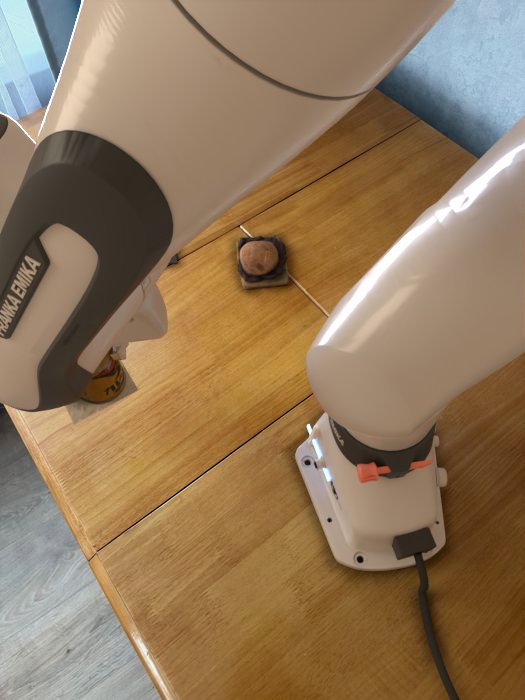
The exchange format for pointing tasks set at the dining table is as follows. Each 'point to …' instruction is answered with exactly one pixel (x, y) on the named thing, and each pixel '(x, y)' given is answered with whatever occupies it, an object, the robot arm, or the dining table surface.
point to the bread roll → (262, 262)
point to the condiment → (103, 389)
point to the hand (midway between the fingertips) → (88, 359)
